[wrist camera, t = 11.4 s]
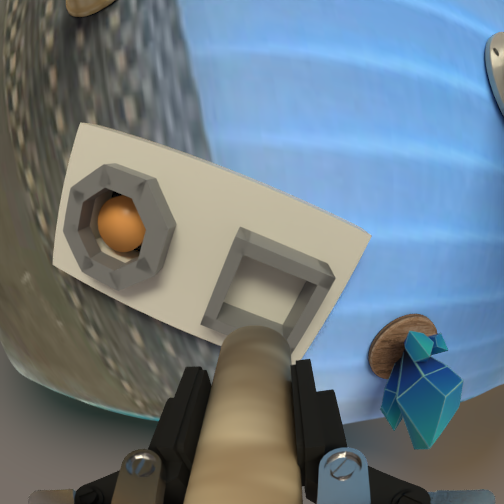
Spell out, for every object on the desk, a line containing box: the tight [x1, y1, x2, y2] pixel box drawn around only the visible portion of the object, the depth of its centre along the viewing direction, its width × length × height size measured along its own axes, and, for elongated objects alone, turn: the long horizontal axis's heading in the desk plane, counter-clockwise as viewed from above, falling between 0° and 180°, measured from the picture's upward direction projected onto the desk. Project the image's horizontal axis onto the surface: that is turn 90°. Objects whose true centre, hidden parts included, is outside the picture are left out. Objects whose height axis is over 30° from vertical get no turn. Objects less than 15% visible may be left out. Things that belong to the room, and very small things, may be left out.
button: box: [98, 195, 146, 252], centre depth 19 cm, size 4×4×2 cm
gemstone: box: [368, 314, 463, 449], centre depth 17 cm, size 7×9×12 cm
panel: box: [53, 122, 371, 365], centre depth 19 cm, size 22×12×5 cm, turn 68°
